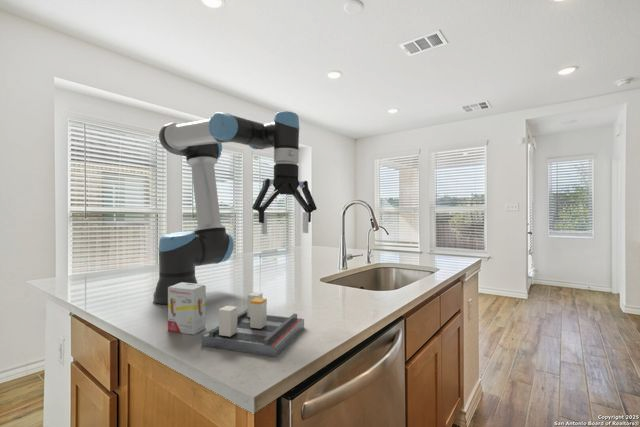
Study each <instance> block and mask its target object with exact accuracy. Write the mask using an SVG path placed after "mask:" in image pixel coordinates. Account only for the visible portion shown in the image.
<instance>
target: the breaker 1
mask: <svg viewBox="0 0 640 427" xmlns="http://www.w3.org/2000/svg"><path fill="white" fill-rule="evenodd" d="M237 315H238V306H234V305H233V306H232V305H225V306H223V307H221V308H218V326H219V335H222V336H229V337H230V336H232V335H233V334H235V333H236V332H237Z"/></svg>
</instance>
